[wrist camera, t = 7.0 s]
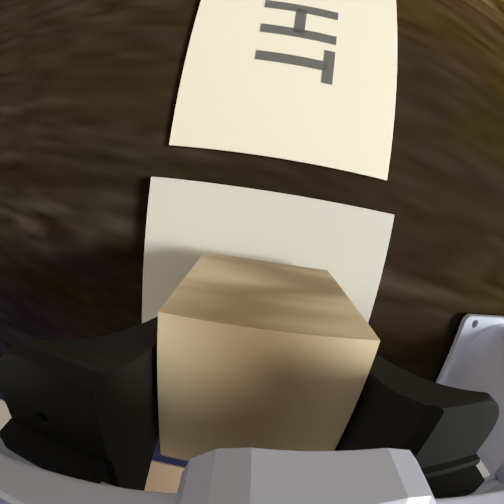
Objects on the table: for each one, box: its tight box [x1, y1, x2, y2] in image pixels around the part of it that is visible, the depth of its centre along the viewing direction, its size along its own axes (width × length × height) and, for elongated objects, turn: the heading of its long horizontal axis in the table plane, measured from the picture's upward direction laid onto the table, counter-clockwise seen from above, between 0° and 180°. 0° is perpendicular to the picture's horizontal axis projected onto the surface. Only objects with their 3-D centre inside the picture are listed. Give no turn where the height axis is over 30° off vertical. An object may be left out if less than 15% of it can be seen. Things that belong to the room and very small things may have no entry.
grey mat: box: [142, 177, 394, 323], centre depth 14 cm, size 11×11×1 cm
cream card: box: [169, 0, 397, 180], centre depth 11 cm, size 10×12×1 cm
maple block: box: [157, 252, 380, 461], centre depth 10 cm, size 5×5×6 cm
